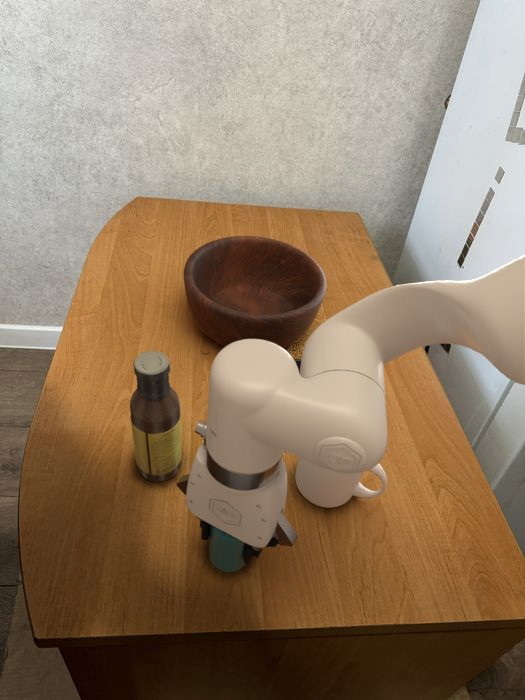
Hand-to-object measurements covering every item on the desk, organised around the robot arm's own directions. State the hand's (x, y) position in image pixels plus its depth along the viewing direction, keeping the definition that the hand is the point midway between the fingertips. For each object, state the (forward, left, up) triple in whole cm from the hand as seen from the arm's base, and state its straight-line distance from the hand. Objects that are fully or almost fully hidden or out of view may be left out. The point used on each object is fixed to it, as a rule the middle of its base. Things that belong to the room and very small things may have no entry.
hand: (230, 541), depth 63 cm
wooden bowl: (+19, -42, -3) cm, 46 cm away
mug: (-8, -15, -3) cm, 18 cm away
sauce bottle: (+15, -6, -3) cm, 16 cm away
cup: (0, 0, -3) cm, 3 cm away
